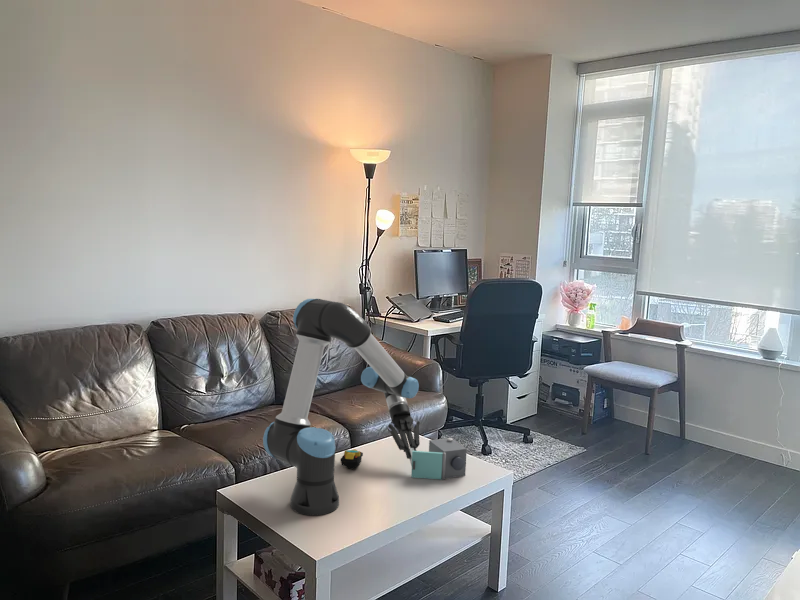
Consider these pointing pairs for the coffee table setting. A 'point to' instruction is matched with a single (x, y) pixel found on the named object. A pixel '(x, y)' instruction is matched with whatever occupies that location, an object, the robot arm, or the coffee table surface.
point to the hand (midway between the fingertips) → (415, 466)
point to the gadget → (351, 458)
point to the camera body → (451, 456)
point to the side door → (428, 465)
